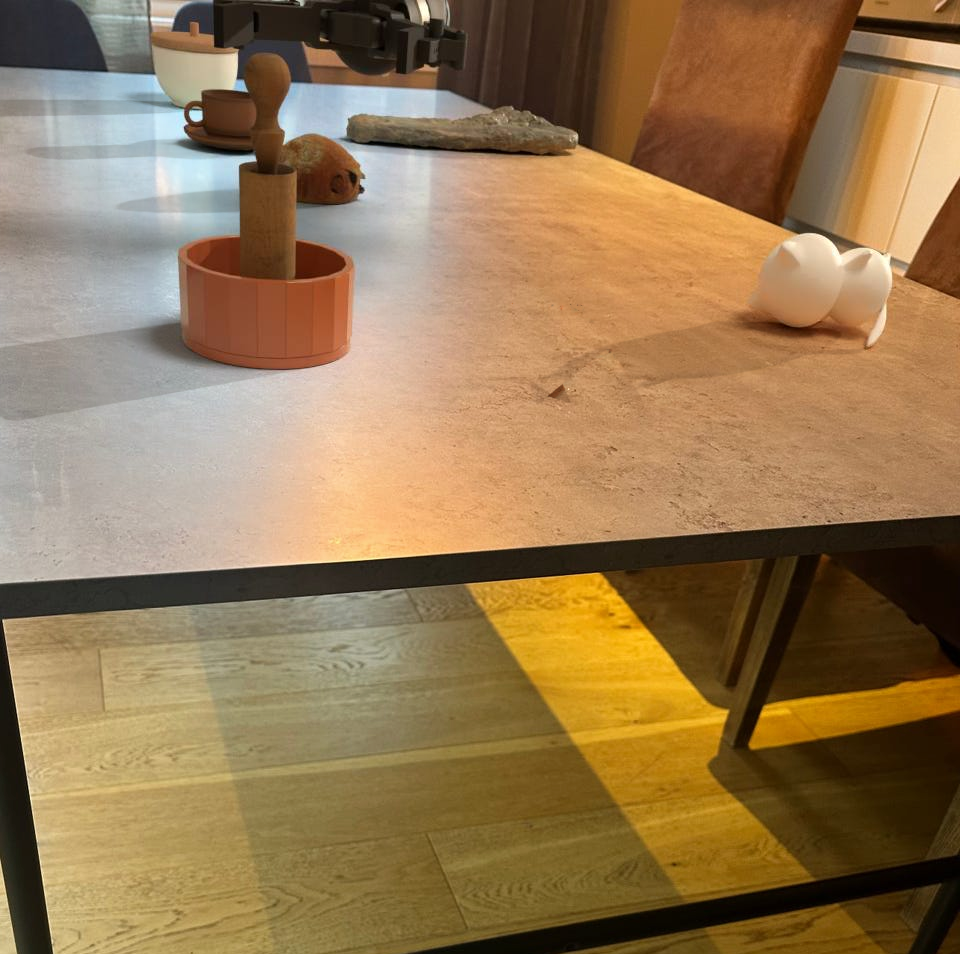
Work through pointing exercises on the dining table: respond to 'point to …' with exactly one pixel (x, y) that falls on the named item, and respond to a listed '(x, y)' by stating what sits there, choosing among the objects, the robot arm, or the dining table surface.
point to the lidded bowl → (191, 64)
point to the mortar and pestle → (267, 178)
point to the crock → (265, 306)
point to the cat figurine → (823, 284)
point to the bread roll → (322, 170)
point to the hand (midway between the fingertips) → (309, 39)
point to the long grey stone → (467, 131)
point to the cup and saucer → (222, 119)
